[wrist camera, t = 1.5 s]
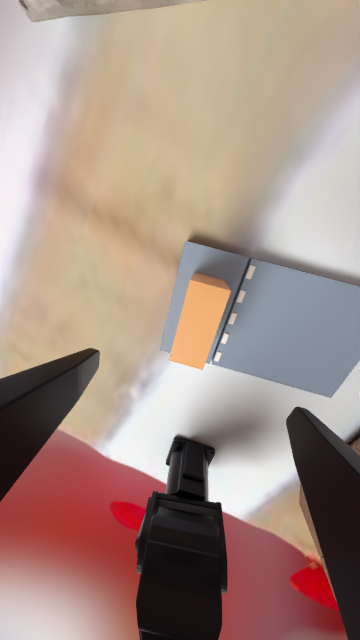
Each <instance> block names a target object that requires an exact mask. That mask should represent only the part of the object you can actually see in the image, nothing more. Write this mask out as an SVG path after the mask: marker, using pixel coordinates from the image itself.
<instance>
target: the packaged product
mask: <svg viewBox="0 0 360 640" xmlns="http://www.w3.org/2000/svg"><path fill="white" fill-rule="evenodd" d="M200 1H205V0H18V2H19V4H20V6H21V8H22V10H23V11H24V12H25V14H26V15H27V17H28V18H29V19H30V20H31V22H39V21H45V20H51V19H57V18H62V17H68V16H83V15H99V14H109V13H115V12H123V11H132V10H140V9H151V8H159V7H166V6H173V5H179V4H185V3H193V2H200Z"/></svg>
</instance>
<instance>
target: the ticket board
mask: <svg viewBox="0 0 360 640" xmlns="http://www.w3.org/2000/svg"><path fill="white" fill-rule="evenodd" d="M359 360H360V286H356V285H352V284H348V283H344V282H341V281H337V280H333V279H329V278H325V277H322V276H318V275H314V274H310V273H306V272H302V271H299V270H295V269H291V268H287V267H283V266H280V265H276V264H272V263H268V262H264V261H261V260H257V259H253V258H249V261H248V263H247V266H246V269H245V271H244V274H243V277H242V280H241V282H240V285H239V288H238V290H237V293H236V296H235V298H234V301H233V304H232V306H231V309H230V312H229V314H228V317H227V320H226V322H225V325H224V328H223V330H222V333H221V336H220V338H219V341H218V344H217V346H216V349H215V352H214V355H213V357H212V364H213V365H217V366H221V367H224V368H228V369H231V370H235V371H238V372H242V373H245V374H249V375H252V376H256V377H259V378H263V379H266V380H270V381H274V382H277V383H281V384H284V385H288V386H291V387H295V388H298V389H302V390H305V391H309V392H312V393H316V394H319V395H323V396H327V397H330V398H331V397H332V396H333V394H334V393H335V392H336V391H337V389H338V388H339V387H340V385H341V384H342V383H343V381H344V380H345V379H346V377H347V376H348V375H349V373H350V372H351V371H352V370H353V368H354V367H355V366H356V364H357V363H358V362H359Z"/></svg>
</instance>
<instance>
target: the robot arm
mask: <svg viewBox="0 0 360 640" xmlns="http://www.w3.org/2000/svg"><path fill="white" fill-rule="evenodd" d="M99 357H100V352H99V350H96V349H93V348H88V349H85V350H83V351H80V352H77V353H74V354H71V355H68V356H65V357H62V358H59V359H56V360H54V361H51V362H48V363H45V364H42V365H39V366H36V367H33V368H30V369H27V370H25V371H22V372H19V373H16V374H13V375H10V376H7V377H4V378H1V379H0V502H1V500H2V499H3V498H4V496H5V495H6V494H7V492H8V491H9V490H10V489H11V487H12V486H13V485H14V483H15V482H16V480H17V479H18V478H19V477H20V475H21V474H22V473H23V472H24V470H25V469H26V468H27V466H28V465H29V464H30V463H31V461H32V460H33V459H34V457H35V456H36V455H37V453H38V452H39V451H40V449H41V448H42V447H43V445H44V444H45V443H46V442H47V440H48V439H49V438H50V437H51V435H52V434H53V433H54V431H55V430H56V429H57V427H58V426H59V425H60V424H61V422H62V421H63V420H64V418H65V417H66V416H67V414H68V413H69V412H70V411H71V409H72V408H73V407H74V405H75V404H76V403H77V401H78V400H79V398H80V397H81V395H82V394H83V392H84V390H85V389H86V387H87V386H88V384H89V382H90V381H91V379H92V377H93V376H94V374H95V373H96V371H97V369H98V367H99ZM286 425H287V430H288V434H289V439H290V444H291V448H292V453H293V458H294V462H295V466H296V469H297V473H298V476H299V479H300V482H301V486H302V489H303V492H304V496H305V499H306V502H307V505H308V509H309V512H310V515H311V519H312V522H313V525H314V529H315V532H316V535H317V538H318V542H319V545H320V548H321V552H322V555H323V558H324V561H325V565H326V568H327V571H328V575H329V578H330V581H331V585H332V588H333V591H334V594H335V598H336V601H337V604H338V608H339V611H340V614H341V617H342V621H343V624H344V627H345V631H346V634H347V637H348V640H360V455H359V454H358V453H356V452H355V451H354V450H353V449H352V448H351V447H350V446H349V445H347V444H346V443H345V442H344V441H343V440H342V439H341V438H339V437H338V436H337V435H336V434H335V433H334V432H333V431H331V430H330V429H329V428H328V427H327V426H326V425H325V424H323V423H322V422H321V421H320V420H319V419H318V418H317V417H316V416H314V415H313V414H312V413H311V412H310V411H309V410H307V409H305V408H301V407H295V408H294V409H293V411H292V412H291V414H290V415H289V416H288V418H287V420H286ZM214 455H215V449H214V448H211V447H208V446H205V445H201V444H198V443H195V442H191V441H188V440H184V439H181V438H178V437H175V438H174V439H173V442H172V445H171V448H170V451H169V454H168V456H167V459H166V465H168V466H170V467H169V473H168V479H167V485H166V492H165V493H158V492H157V491H153V494H152V497H150V498H149V500H148V504H147V508H146V512H145V516H144V519H143V522H142V524H141V527H140V530H139V533H138V536H137V539H136V542H135V548H136V551H137V573H140V574H141V576H140V581H139V588H138V593H137V599H136V608H137V621H138V629H139V635H140V640H218V638H219V634H220V631H221V627H222V596H221V593H226V592H227V555H226V554H227V553H226V542H225V534H224V525H223V517H222V508H221V503H220V502H216V503H214V502H209V501H208V466H209V464H210V462H211V460H212V458H213V457H214Z"/></svg>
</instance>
